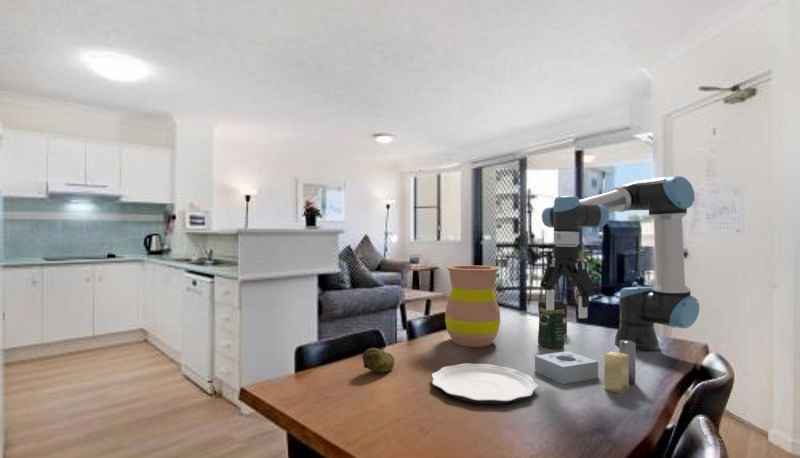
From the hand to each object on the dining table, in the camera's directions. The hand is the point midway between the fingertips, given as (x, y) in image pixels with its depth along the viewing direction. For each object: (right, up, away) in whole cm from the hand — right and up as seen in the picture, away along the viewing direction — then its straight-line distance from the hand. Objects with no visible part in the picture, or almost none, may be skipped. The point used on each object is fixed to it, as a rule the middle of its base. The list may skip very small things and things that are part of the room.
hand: (565, 313), depth 131 cm
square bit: (+9, -19, -12) cm, 25 cm away
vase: (-23, -19, +38) cm, 48 cm away
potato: (-58, -19, +1) cm, 61 cm away
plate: (-28, -19, -11) cm, 36 cm away
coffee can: (+16, -20, +52) cm, 58 cm away
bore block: (0, -19, 0) cm, 19 cm away
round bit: (+16, -19, -7) cm, 25 cm away
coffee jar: (+7, -19, +32) cm, 38 cm away
